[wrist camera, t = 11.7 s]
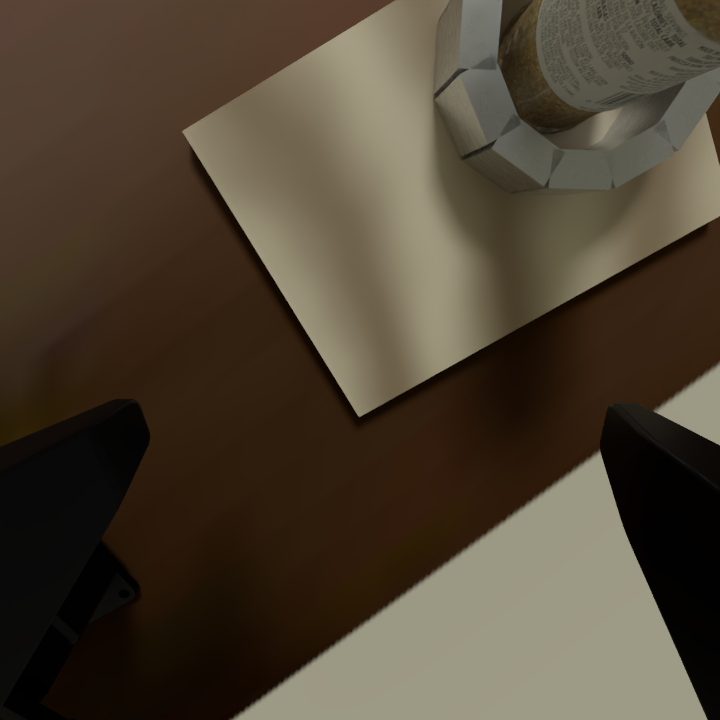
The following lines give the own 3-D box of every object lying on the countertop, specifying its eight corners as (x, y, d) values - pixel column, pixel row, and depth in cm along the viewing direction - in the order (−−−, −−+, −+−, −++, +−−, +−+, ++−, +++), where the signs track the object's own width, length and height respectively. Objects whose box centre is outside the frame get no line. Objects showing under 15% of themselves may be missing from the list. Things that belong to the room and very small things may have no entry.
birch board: (356, 408, 21) (359, 417, 20) (189, 136, 17) (182, 131, 16) (710, 210, 20) (730, 209, 19) (618, -126, 16) (637, -148, 15)
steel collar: (493, 236, 18) (527, 238, 15) (392, 4, 16) (410, -46, 13) (693, 122, 18) (766, 102, 15) (623, -138, 15) (695, -221, 12)
